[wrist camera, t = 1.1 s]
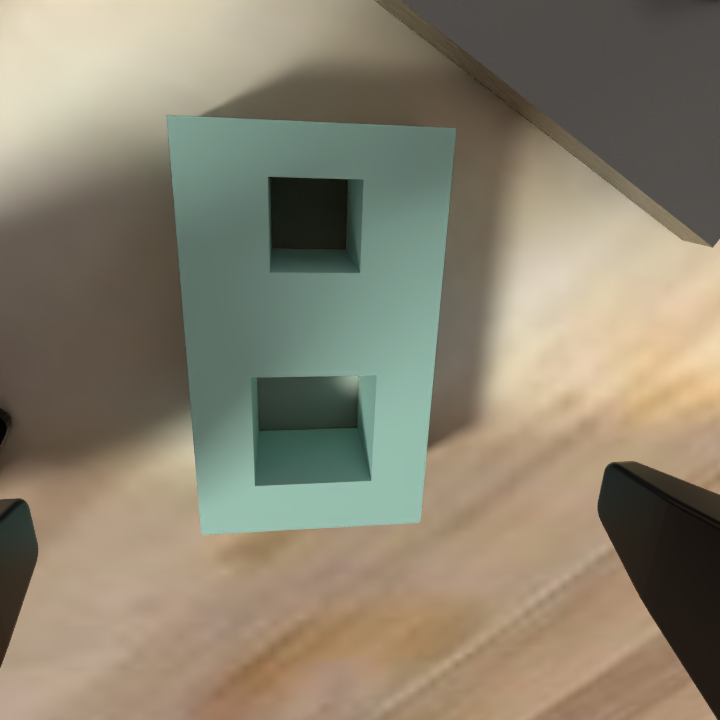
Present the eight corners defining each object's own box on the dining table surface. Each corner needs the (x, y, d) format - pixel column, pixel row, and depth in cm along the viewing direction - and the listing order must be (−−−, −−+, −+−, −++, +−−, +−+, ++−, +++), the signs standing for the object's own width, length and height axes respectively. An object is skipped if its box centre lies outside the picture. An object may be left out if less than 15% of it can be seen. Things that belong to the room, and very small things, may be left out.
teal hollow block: (398, 464, 21) (420, 522, 18) (213, 472, 21) (201, 534, 17) (423, 130, 17) (456, 127, 14) (189, 119, 16) (166, 115, 13)
